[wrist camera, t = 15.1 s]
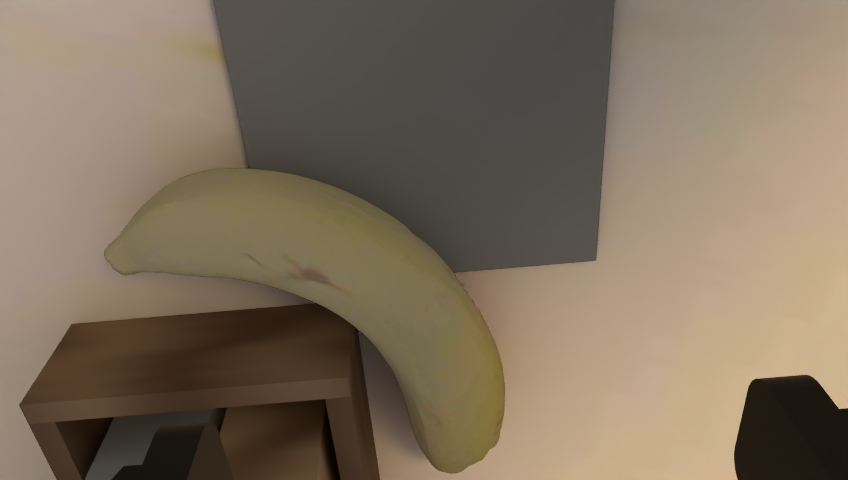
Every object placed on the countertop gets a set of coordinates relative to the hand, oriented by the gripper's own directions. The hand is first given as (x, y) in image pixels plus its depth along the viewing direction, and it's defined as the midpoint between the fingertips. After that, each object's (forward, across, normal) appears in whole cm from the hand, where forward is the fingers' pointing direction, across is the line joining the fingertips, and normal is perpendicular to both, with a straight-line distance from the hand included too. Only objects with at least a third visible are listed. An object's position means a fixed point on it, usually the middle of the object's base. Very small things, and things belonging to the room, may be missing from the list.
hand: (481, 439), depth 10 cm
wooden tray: (+12, +8, +13) cm, 20 cm away
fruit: (+12, 0, +13) cm, 18 cm away
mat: (+12, 0, 0) cm, 13 cm away
